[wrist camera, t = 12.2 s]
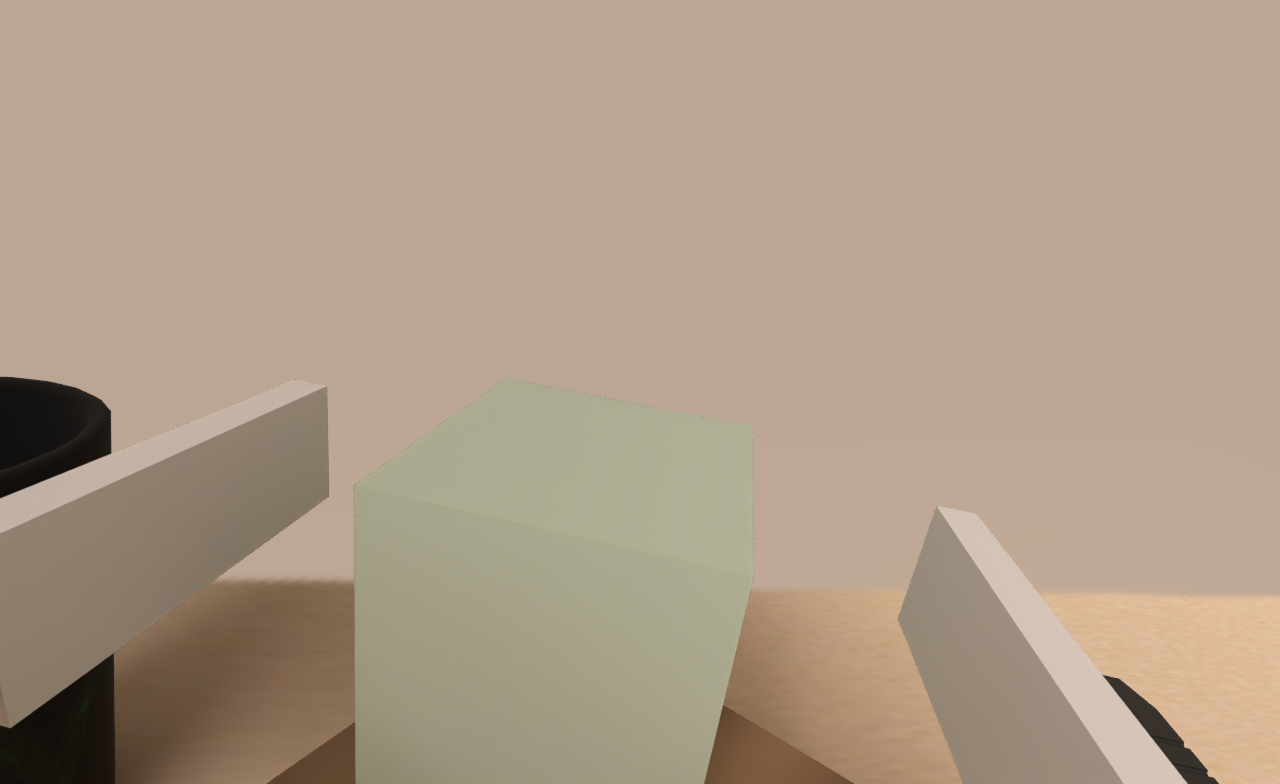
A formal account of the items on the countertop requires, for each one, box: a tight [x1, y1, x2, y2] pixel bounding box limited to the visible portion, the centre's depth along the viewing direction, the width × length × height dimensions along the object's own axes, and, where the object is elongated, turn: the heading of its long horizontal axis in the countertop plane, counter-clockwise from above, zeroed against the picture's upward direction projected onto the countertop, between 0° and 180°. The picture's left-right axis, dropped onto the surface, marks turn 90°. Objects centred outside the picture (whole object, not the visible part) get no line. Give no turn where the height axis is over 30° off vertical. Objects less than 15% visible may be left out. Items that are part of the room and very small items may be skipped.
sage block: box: [354, 378, 754, 784], centre depth 13 cm, size 6×6×10 cm
